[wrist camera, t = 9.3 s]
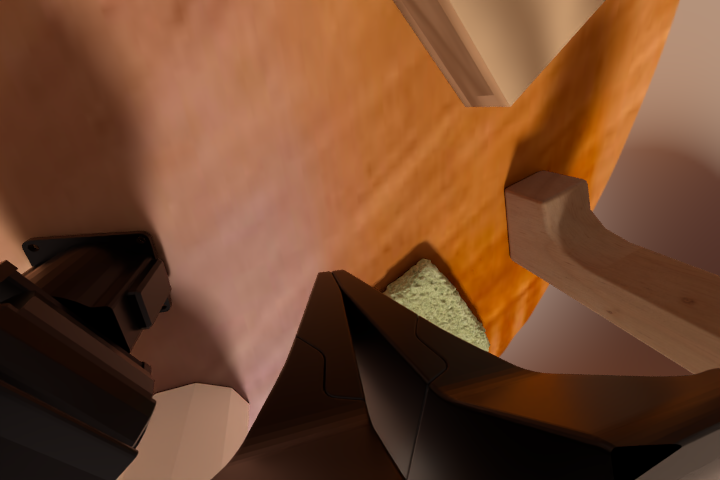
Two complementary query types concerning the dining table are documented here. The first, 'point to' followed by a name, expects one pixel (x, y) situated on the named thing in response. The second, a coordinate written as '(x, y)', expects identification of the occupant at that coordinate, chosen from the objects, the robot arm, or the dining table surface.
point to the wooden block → (613, 271)
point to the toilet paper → (190, 434)
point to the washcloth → (437, 302)
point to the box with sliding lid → (494, 41)
